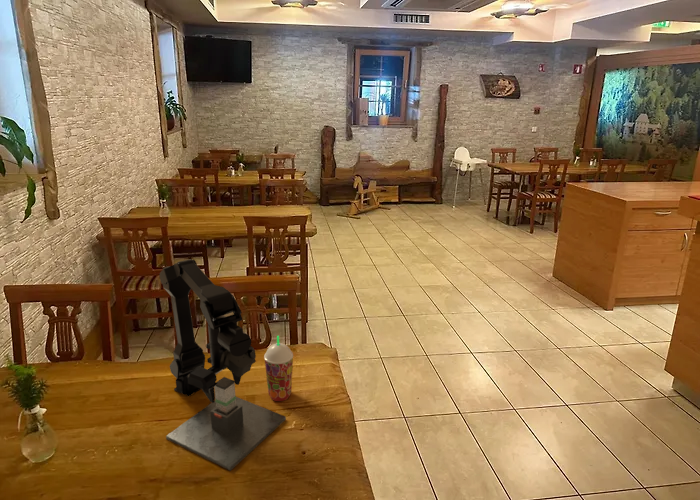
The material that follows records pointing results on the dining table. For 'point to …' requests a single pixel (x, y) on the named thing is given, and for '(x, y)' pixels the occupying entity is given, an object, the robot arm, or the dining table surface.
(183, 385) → the robot arm
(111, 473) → the dining table surface
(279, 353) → the smoothie
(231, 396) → the column
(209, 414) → the stand base
